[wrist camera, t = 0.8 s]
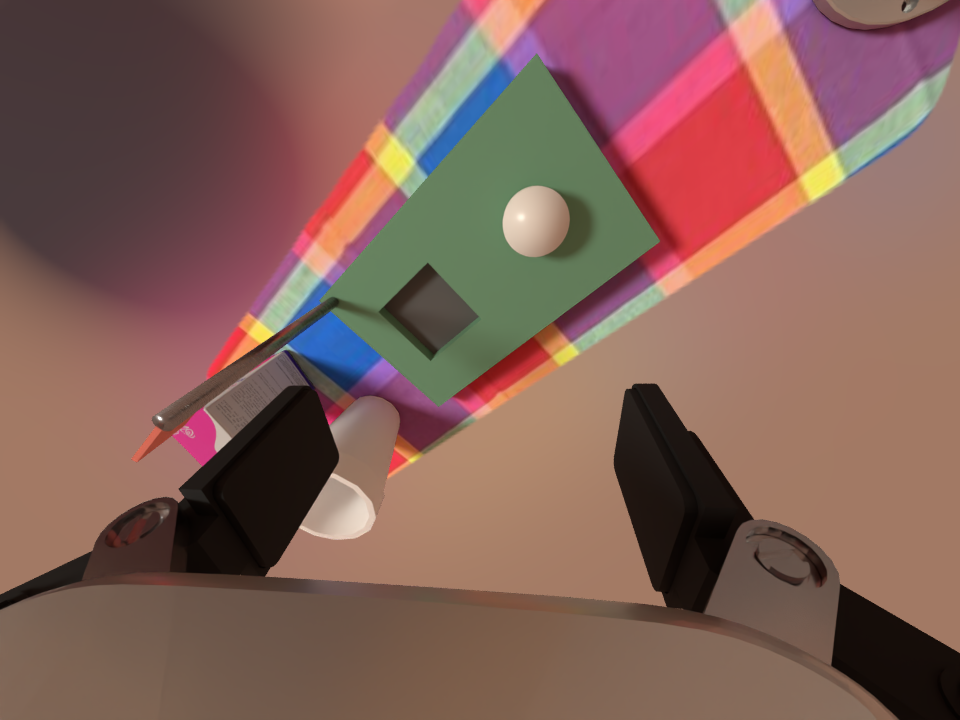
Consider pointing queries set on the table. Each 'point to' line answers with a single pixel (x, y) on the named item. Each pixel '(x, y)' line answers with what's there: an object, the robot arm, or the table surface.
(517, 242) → the cream rounded stone
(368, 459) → the foam cup
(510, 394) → the table surface
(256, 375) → the supplement box
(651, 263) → the table surface
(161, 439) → the putting mat
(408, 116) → the table surface
